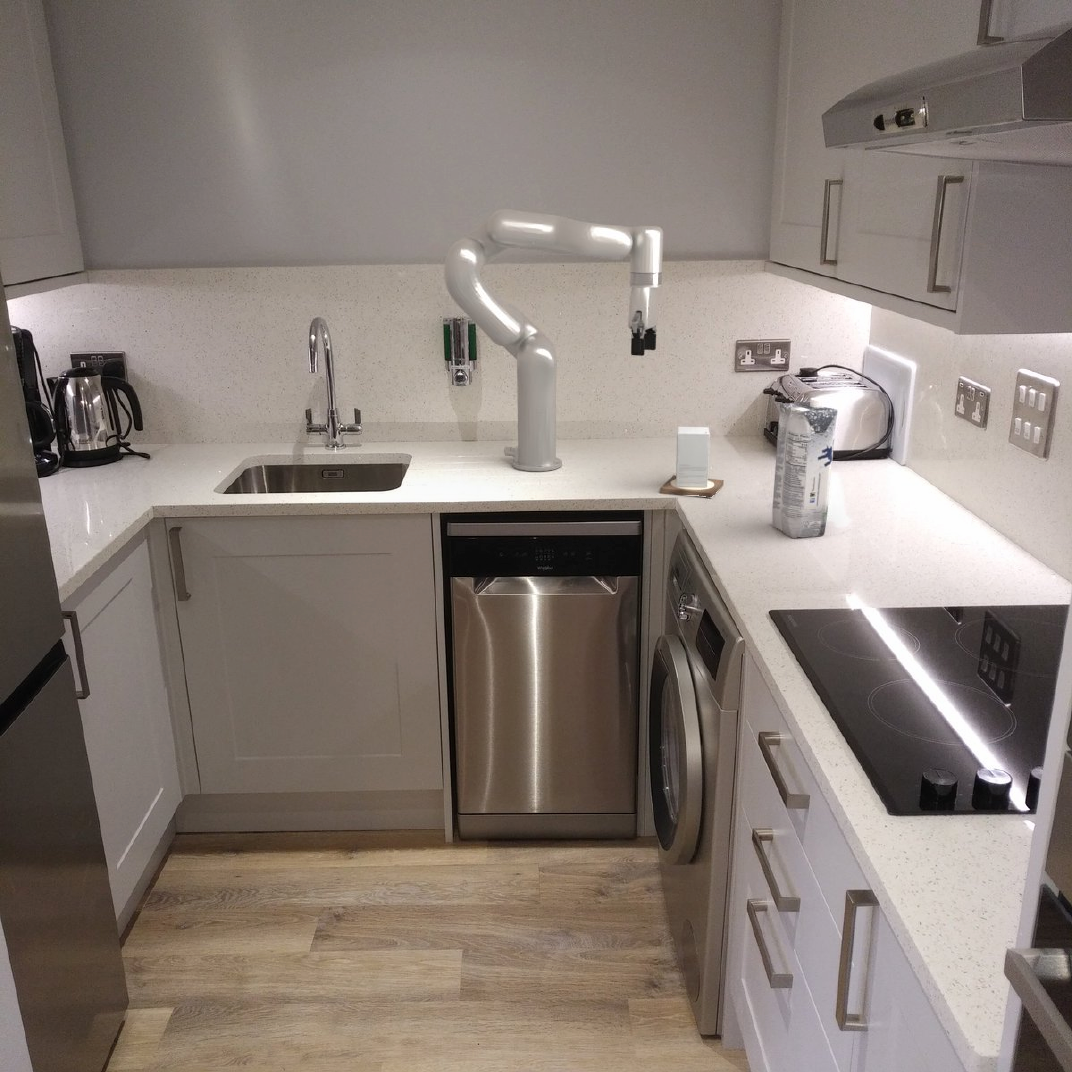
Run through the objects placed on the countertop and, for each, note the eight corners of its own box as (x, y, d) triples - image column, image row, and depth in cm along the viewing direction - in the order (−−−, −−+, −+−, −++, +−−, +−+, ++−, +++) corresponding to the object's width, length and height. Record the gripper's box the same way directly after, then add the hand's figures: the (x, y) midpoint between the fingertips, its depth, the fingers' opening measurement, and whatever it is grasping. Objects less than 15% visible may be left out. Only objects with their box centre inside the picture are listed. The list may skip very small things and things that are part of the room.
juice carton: (791, 541, 199) (802, 405, 191) (765, 525, 209) (775, 395, 200) (831, 537, 202) (844, 402, 193) (804, 521, 211) (815, 393, 203)
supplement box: (707, 479, 238) (710, 426, 234) (707, 488, 231) (710, 433, 227) (675, 478, 239) (677, 425, 235) (674, 486, 232) (677, 432, 228)
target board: (659, 493, 232) (660, 487, 231) (673, 480, 242) (673, 474, 242) (711, 498, 227) (712, 492, 227) (723, 485, 238) (723, 479, 238)
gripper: (641, 277, 250) (639, 347, 256) (619, 282, 235) (617, 356, 240) (670, 278, 247) (667, 348, 253) (650, 283, 232) (648, 358, 238)
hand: (643, 352), depth 247 cm, fingers open, 9 cm apart
